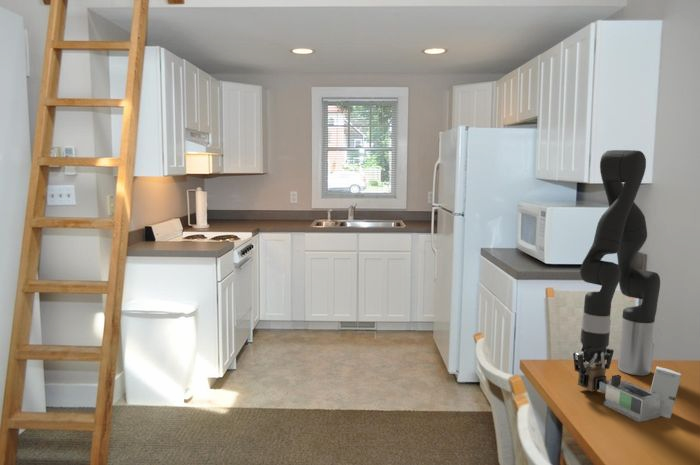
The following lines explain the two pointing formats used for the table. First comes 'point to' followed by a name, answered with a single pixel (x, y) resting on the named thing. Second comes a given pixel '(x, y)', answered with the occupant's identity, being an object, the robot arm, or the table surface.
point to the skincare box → (665, 389)
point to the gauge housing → (633, 401)
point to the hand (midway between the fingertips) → (590, 384)
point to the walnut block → (592, 376)
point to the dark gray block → (616, 380)
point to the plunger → (602, 383)
